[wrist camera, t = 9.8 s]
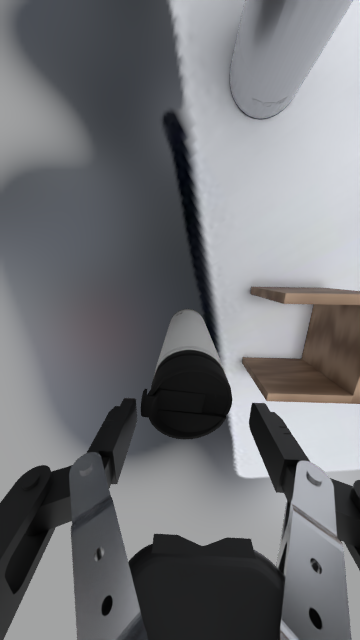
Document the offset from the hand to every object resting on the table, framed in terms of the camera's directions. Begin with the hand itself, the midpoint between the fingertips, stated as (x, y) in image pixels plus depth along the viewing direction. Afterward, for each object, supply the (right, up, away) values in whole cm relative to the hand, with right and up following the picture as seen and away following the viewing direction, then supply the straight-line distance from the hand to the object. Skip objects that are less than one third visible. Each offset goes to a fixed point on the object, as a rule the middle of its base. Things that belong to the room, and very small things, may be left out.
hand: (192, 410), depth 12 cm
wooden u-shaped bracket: (+17, +5, +19) cm, 25 cm away
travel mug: (0, +5, +19) cm, 20 cm away
